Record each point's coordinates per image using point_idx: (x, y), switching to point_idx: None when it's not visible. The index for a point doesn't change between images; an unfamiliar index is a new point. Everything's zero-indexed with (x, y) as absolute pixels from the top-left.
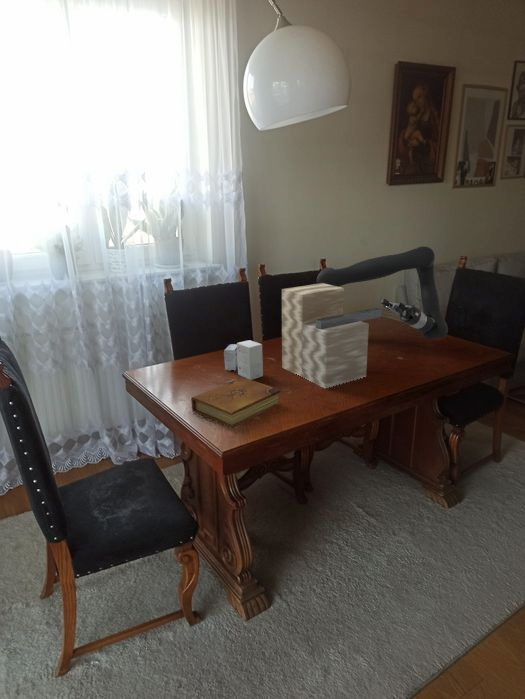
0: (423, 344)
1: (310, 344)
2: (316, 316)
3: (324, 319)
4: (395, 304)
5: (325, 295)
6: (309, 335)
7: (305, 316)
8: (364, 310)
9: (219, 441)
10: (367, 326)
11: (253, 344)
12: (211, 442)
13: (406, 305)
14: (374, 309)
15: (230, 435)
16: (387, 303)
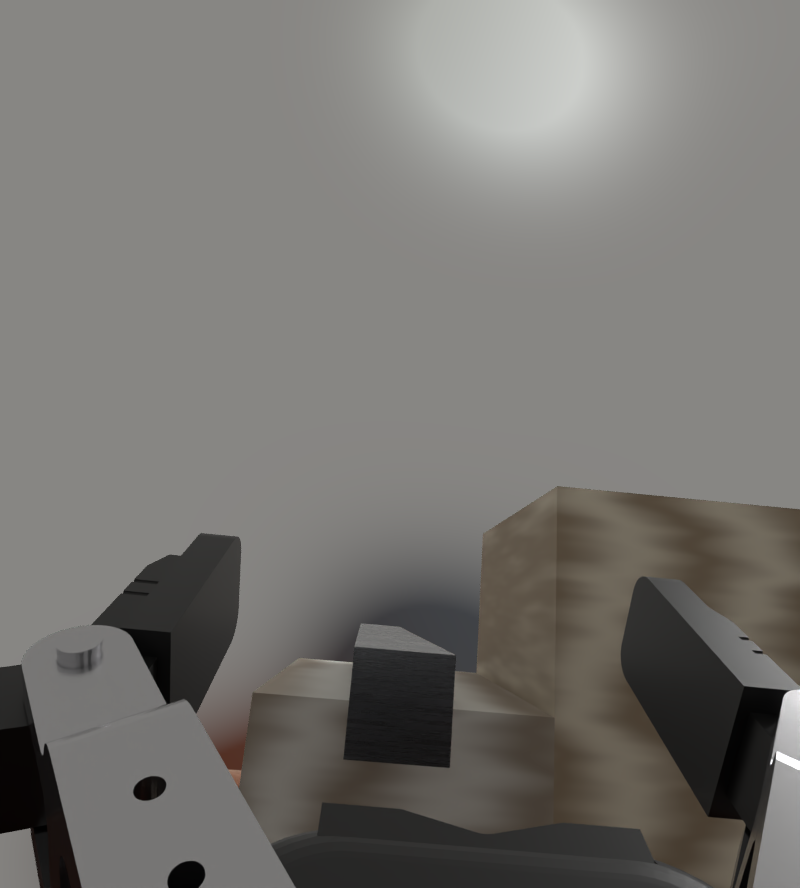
0: None
1: None
2: (495, 654)
3: (375, 625)
4: (754, 832)
5: (513, 538)
6: None
7: (482, 638)
8: (414, 641)
9: (233, 773)
10: (252, 713)
11: None
12: (241, 770)
13: (172, 703)
14: (390, 644)
15: (236, 782)
16: (702, 716)
